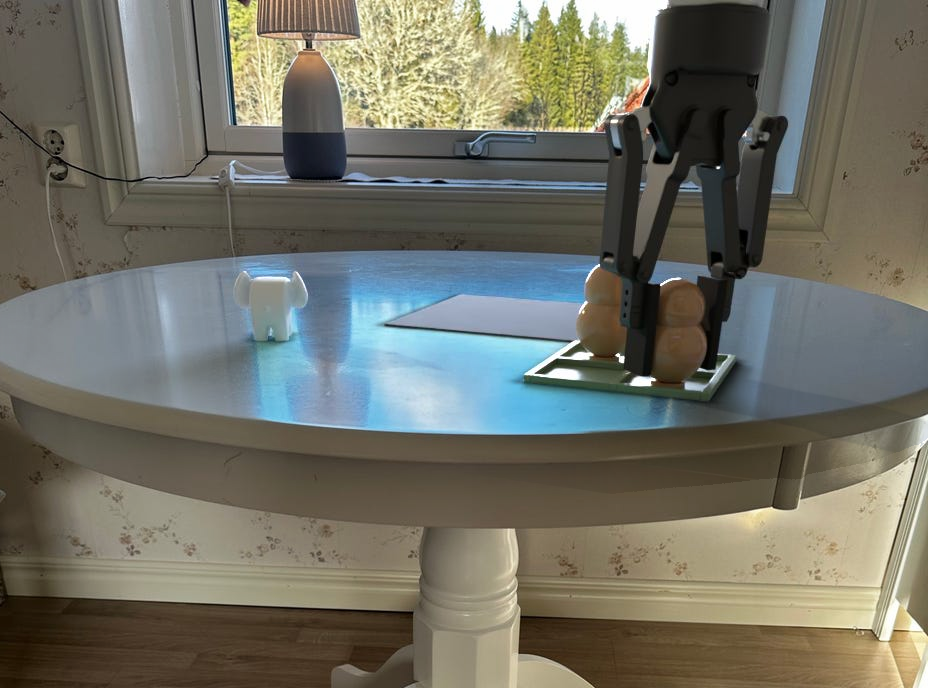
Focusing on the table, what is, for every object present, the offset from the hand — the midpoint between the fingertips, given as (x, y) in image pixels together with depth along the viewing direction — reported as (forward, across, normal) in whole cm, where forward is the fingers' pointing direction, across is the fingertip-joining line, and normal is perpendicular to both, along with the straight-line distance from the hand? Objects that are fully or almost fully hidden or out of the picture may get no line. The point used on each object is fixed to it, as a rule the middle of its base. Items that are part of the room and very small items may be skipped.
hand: (669, 368), depth 73 cm
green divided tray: (+2, 0, -5) cm, 5 cm away
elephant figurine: (+2, +24, -29) cm, 38 cm away
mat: (+2, -1, -30) cm, 30 cm away
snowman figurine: (+1, 0, -10) cm, 10 cm away
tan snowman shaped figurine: (+1, 0, 0) cm, 1 cm away
